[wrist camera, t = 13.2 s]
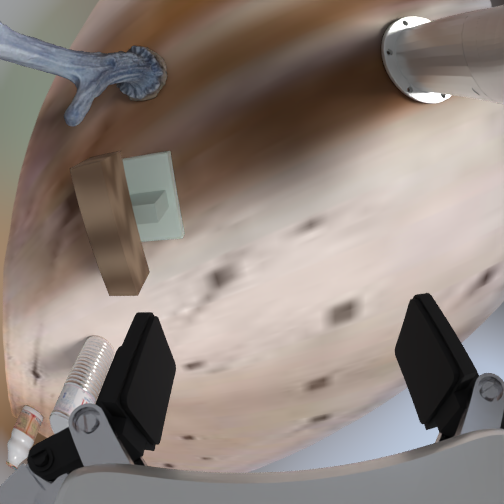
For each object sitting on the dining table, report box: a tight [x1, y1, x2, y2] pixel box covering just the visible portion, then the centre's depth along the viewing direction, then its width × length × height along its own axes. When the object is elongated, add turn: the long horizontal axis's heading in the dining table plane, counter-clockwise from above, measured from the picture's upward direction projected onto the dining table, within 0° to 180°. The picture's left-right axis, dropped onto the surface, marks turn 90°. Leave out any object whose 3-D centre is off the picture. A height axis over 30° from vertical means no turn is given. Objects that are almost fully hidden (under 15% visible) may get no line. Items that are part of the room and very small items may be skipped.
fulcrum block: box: [122, 151, 185, 242], centre depth 37 cm, size 12×12×6 cm
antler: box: [0, 22, 167, 126], centre depth 20 cm, size 12×8×25 cm
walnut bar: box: [70, 151, 149, 296], centre depth 32 cm, size 16×4×5 cm, turn 5°
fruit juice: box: [6, 405, 43, 470], centre depth 68 cm, size 9×9×28 cm
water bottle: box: [49, 336, 114, 434], centre depth 45 cm, size 7×7×25 cm
